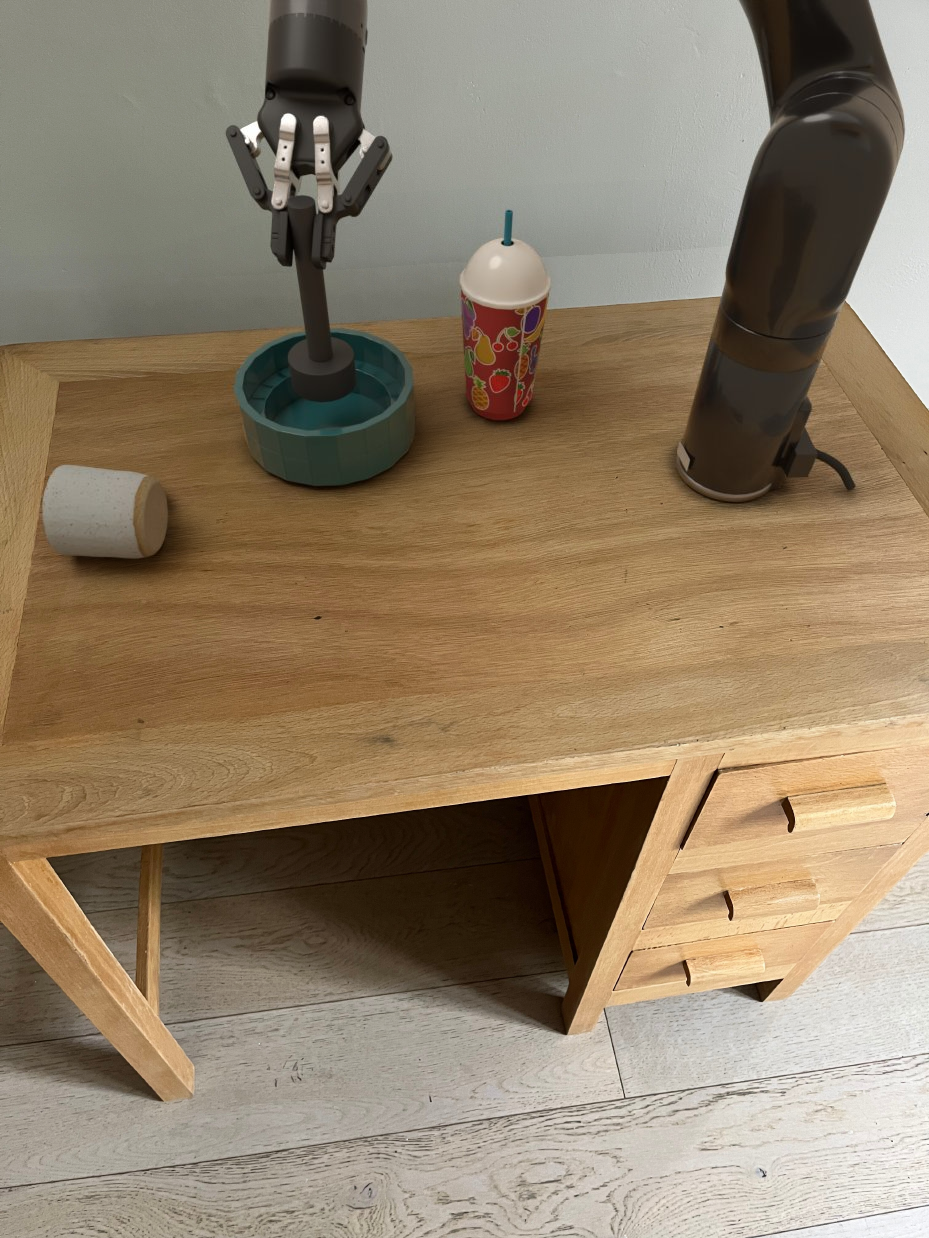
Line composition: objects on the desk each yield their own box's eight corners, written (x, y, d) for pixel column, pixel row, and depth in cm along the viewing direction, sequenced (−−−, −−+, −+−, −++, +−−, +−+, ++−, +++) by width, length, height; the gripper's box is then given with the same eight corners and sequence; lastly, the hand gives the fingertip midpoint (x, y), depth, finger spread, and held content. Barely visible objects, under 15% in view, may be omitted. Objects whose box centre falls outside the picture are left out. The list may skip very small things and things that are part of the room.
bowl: (413, 380, 91) (411, 326, 86) (417, 488, 81) (415, 433, 75) (255, 384, 90) (243, 329, 85) (238, 493, 80) (224, 438, 75)
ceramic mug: (157, 576, 73) (132, 510, 67) (62, 573, 73) (28, 507, 67) (187, 492, 80) (166, 426, 74) (99, 490, 80) (71, 423, 74)
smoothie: (555, 411, 88) (578, 218, 72) (488, 440, 85) (497, 246, 69) (507, 370, 92) (519, 180, 77) (442, 396, 89) (441, 204, 74)
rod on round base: (369, 383, 81) (355, 202, 67) (320, 411, 78) (294, 228, 65) (328, 356, 83) (306, 176, 70) (279, 382, 81) (246, 200, 67)
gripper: (214, 3, 64) (200, 244, 66) (398, 14, 63) (378, 258, 65) (246, 57, 71) (233, 272, 73) (411, 68, 71) (393, 285, 73)
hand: (301, 264), depth 69 cm, fingers closed on rod on round base
